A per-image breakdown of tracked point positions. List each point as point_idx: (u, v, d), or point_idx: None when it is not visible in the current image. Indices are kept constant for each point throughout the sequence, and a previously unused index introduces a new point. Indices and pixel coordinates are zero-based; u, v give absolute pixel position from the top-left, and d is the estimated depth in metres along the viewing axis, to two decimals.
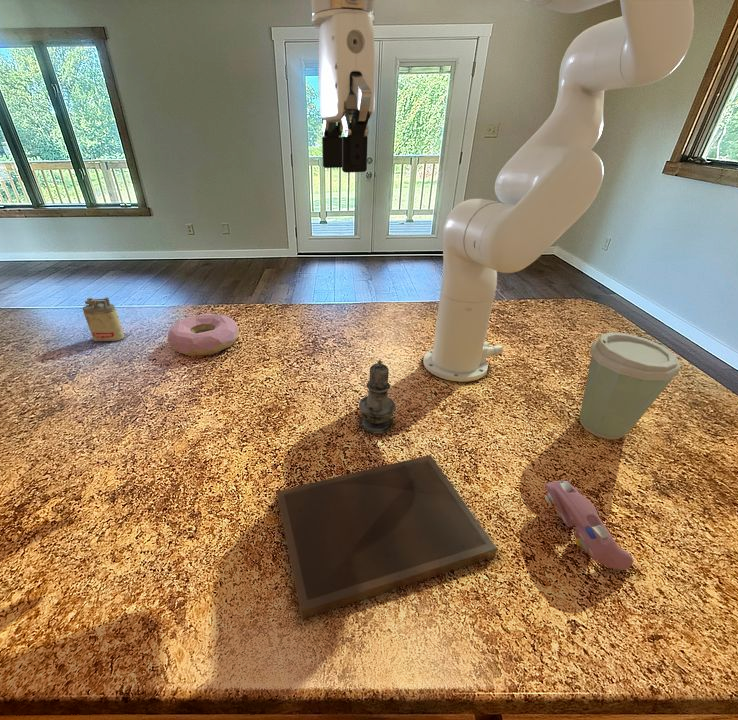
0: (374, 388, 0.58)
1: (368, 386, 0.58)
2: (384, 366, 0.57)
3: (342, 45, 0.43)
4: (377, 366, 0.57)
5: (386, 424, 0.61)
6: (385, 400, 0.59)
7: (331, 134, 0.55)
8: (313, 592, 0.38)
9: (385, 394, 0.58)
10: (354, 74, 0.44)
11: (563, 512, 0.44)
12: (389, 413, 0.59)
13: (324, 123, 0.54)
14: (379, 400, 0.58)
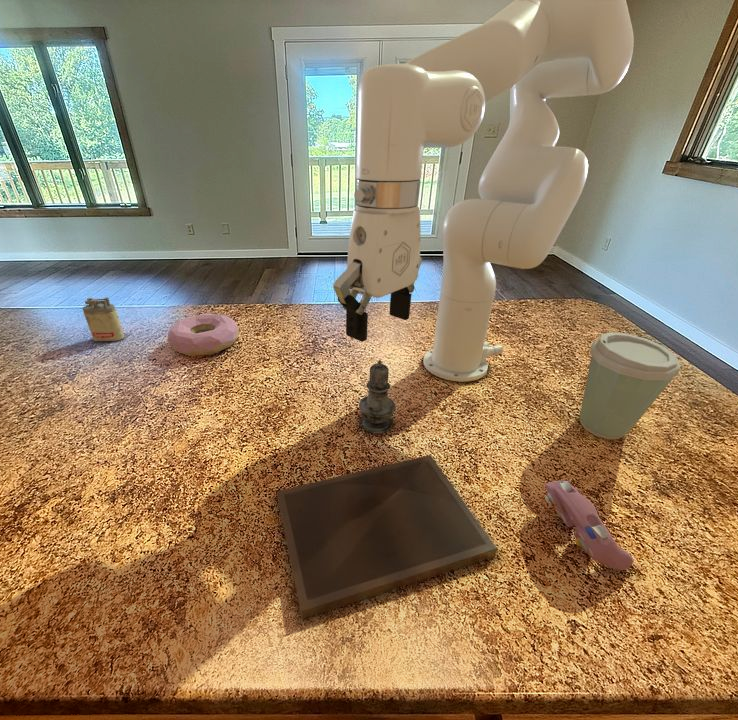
0: (374, 388, 0.58)
1: (368, 386, 0.58)
2: (384, 366, 0.57)
3: (350, 237, 0.45)
4: (377, 366, 0.57)
5: (386, 424, 0.61)
6: (385, 400, 0.59)
7: (398, 289, 0.55)
8: (313, 592, 0.38)
9: (385, 394, 0.58)
10: (356, 261, 0.46)
11: (563, 512, 0.44)
12: (389, 413, 0.59)
13: None
14: (379, 400, 0.58)
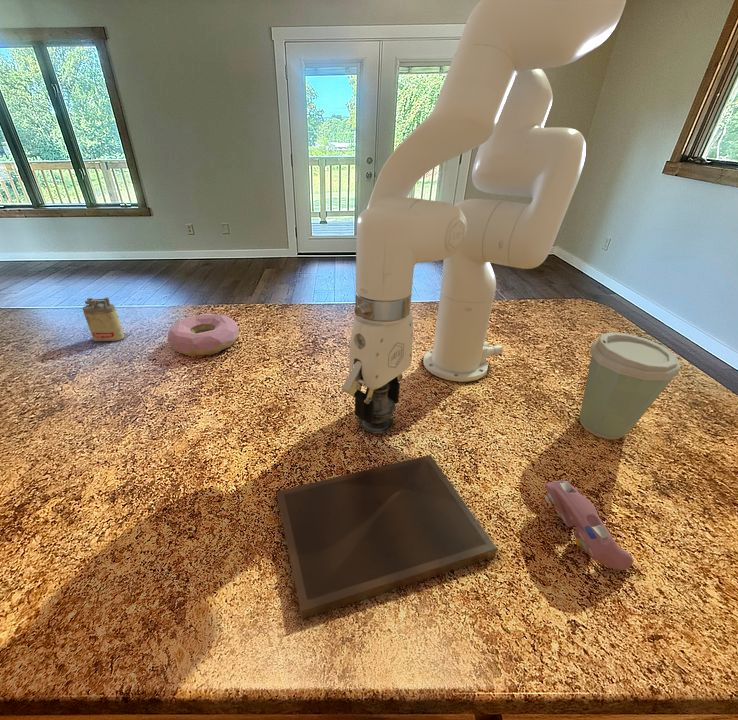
0: None
1: None
2: None
3: (351, 339, 0.52)
4: None
5: (386, 424, 0.61)
6: (385, 400, 0.59)
7: None
8: (313, 592, 0.38)
9: (385, 394, 0.58)
10: (357, 363, 0.53)
11: (563, 512, 0.44)
12: (389, 413, 0.59)
13: None
14: (379, 400, 0.58)
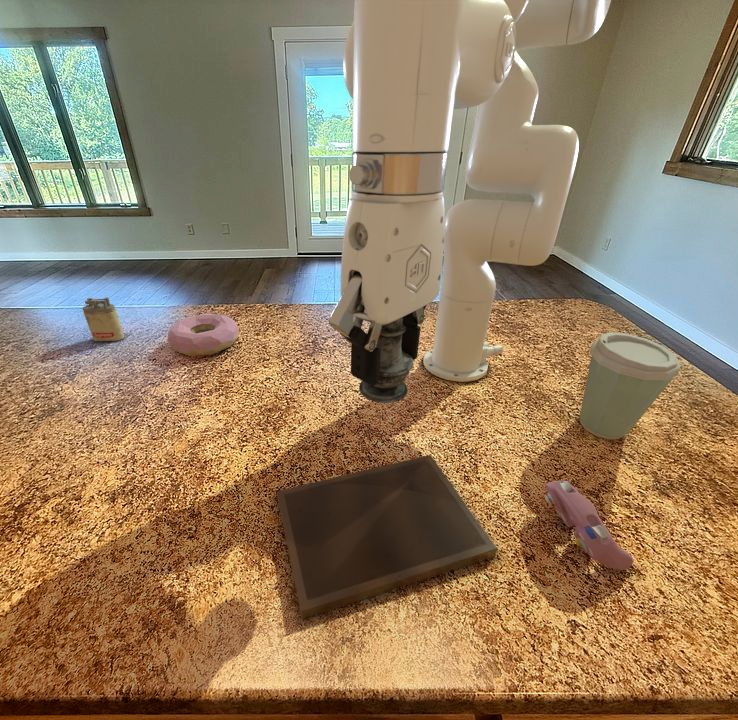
0: (382, 330, 0.36)
1: None
2: None
3: (345, 238, 0.31)
4: None
5: (398, 390, 0.40)
6: (397, 350, 0.38)
7: None
8: (313, 592, 0.38)
9: (398, 340, 0.37)
10: (355, 278, 0.32)
11: (563, 512, 0.44)
12: (404, 371, 0.38)
13: None
14: (388, 350, 0.37)
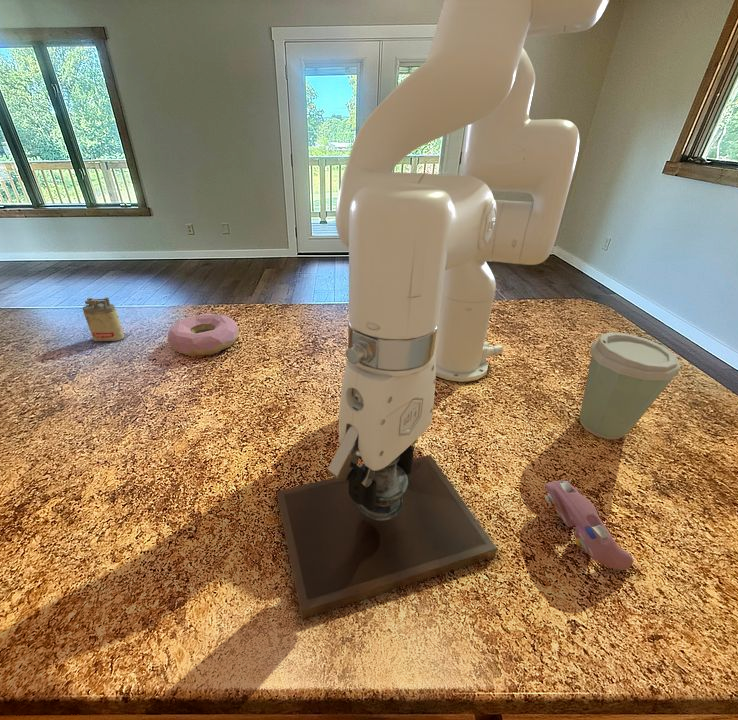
0: None
1: None
2: None
3: (342, 395, 0.33)
4: None
5: (394, 504, 0.43)
6: (393, 474, 0.40)
7: None
8: (313, 592, 0.38)
9: (393, 467, 0.39)
10: (352, 430, 0.34)
11: (563, 512, 0.44)
12: (399, 494, 0.40)
13: None
14: (384, 476, 0.40)
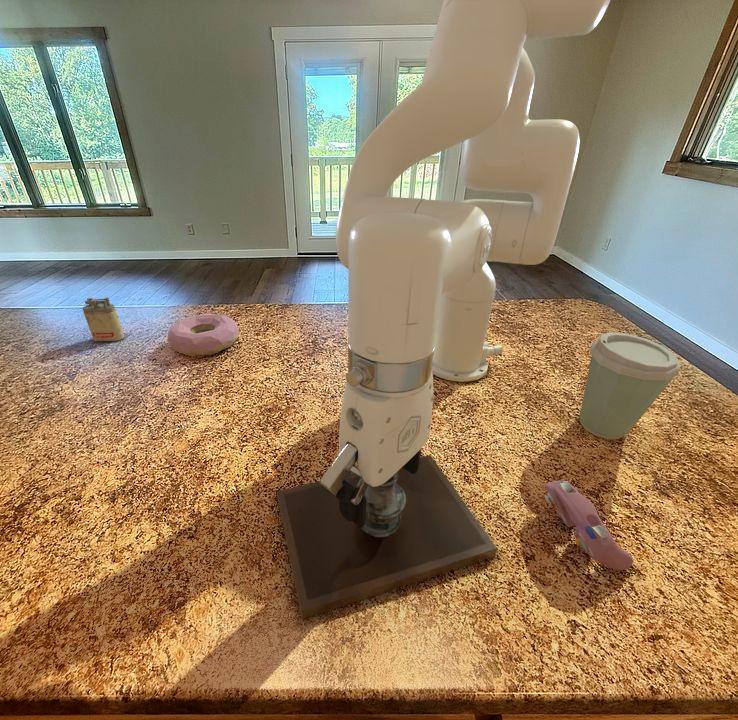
0: None
1: None
2: None
3: (342, 414, 0.34)
4: None
5: (392, 521, 0.44)
6: (391, 493, 0.42)
7: None
8: (313, 592, 0.38)
9: (391, 486, 0.41)
10: (351, 445, 0.35)
11: (563, 512, 0.44)
12: (397, 512, 0.41)
13: None
14: (382, 495, 0.41)
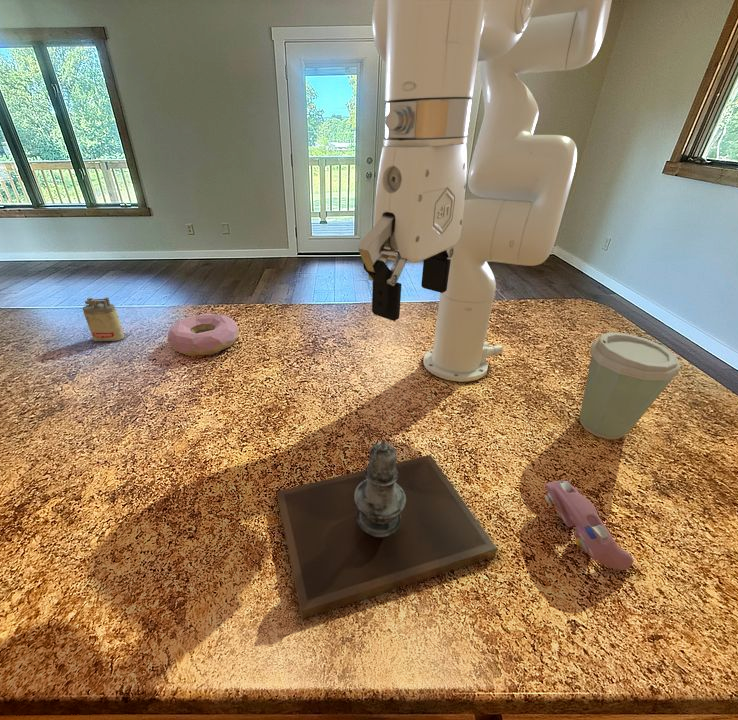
0: (376, 480, 0.40)
1: (367, 475, 0.41)
2: (390, 449, 0.40)
3: (379, 182, 0.34)
4: (379, 449, 0.39)
5: (392, 521, 0.44)
6: (391, 493, 0.42)
7: (433, 255, 0.44)
8: (313, 592, 0.38)
9: (391, 486, 0.41)
10: (387, 215, 0.35)
11: (563, 512, 0.44)
12: (397, 512, 0.41)
13: None
14: (382, 495, 0.41)
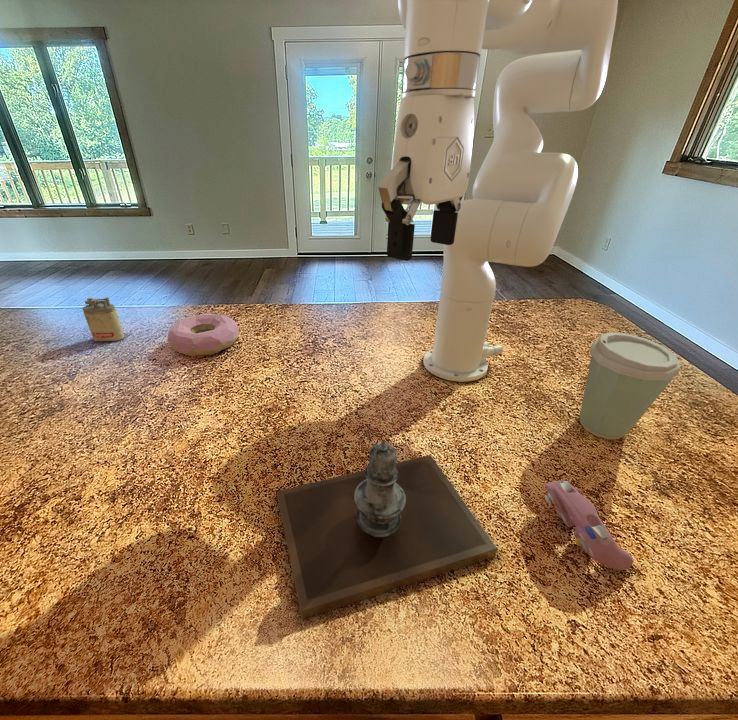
0: (376, 480, 0.40)
1: (367, 475, 0.41)
2: (390, 449, 0.40)
3: (397, 130, 0.39)
4: (379, 449, 0.39)
5: (392, 521, 0.44)
6: (391, 493, 0.42)
7: (442, 209, 0.48)
8: (313, 592, 0.38)
9: (391, 486, 0.41)
10: (404, 160, 0.39)
11: (563, 512, 0.44)
12: (397, 512, 0.41)
13: None
14: (382, 495, 0.41)
